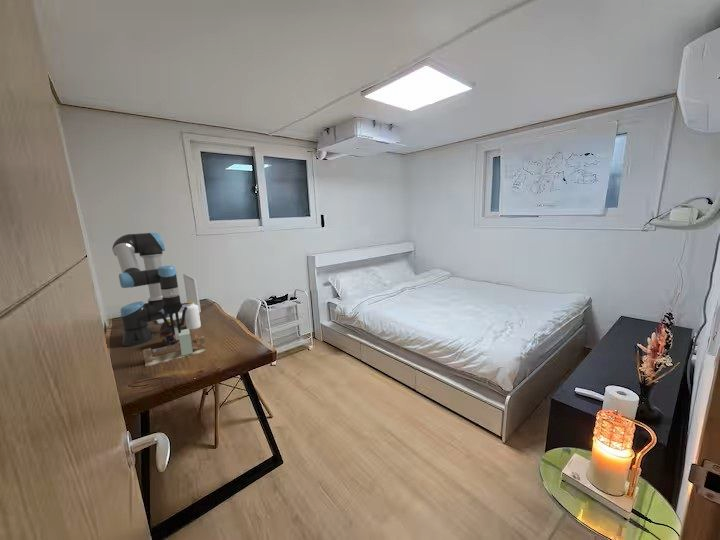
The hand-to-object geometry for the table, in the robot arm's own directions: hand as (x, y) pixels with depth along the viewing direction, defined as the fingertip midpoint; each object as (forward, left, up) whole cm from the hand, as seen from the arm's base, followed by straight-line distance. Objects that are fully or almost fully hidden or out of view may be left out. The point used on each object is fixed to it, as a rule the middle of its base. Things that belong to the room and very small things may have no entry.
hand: (177, 339), depth 152 cm
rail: (-1, -1, -9) cm, 9 cm away
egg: (-18, +10, -9) cm, 22 cm away
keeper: (+2, +3, -9) cm, 10 cm away
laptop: (-67, +56, -10) cm, 88 cm away
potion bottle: (-26, +33, -9) cm, 43 cm away
